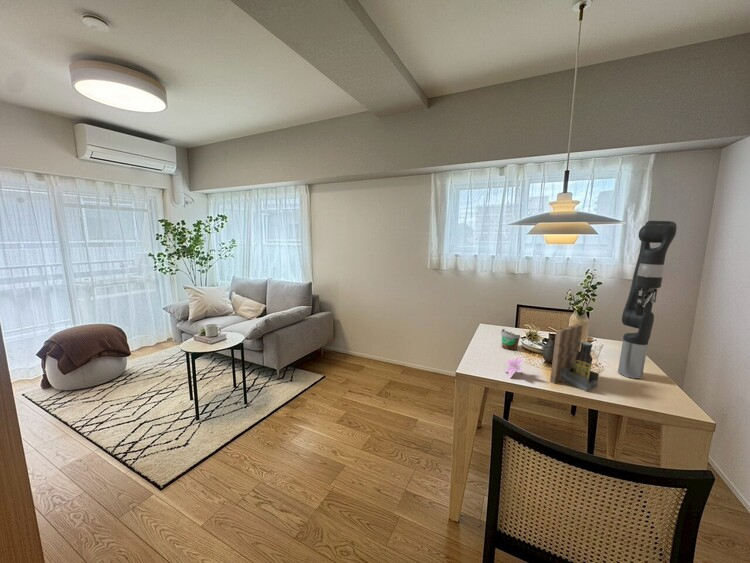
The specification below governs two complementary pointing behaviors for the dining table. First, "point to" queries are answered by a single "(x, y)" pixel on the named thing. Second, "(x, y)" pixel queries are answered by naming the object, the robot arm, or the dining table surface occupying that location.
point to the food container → (509, 340)
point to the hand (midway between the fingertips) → (643, 314)
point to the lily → (514, 365)
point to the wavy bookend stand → (570, 359)
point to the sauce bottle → (583, 360)
